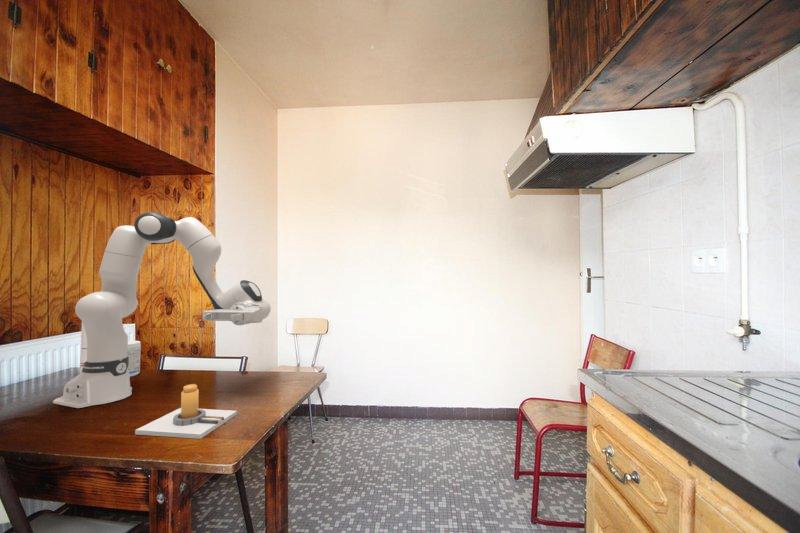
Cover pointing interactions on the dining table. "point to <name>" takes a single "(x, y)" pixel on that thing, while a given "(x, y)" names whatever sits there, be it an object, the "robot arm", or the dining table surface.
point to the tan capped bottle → (189, 401)
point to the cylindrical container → (83, 347)
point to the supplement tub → (134, 357)
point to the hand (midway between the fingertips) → (217, 317)
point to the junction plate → (184, 430)
